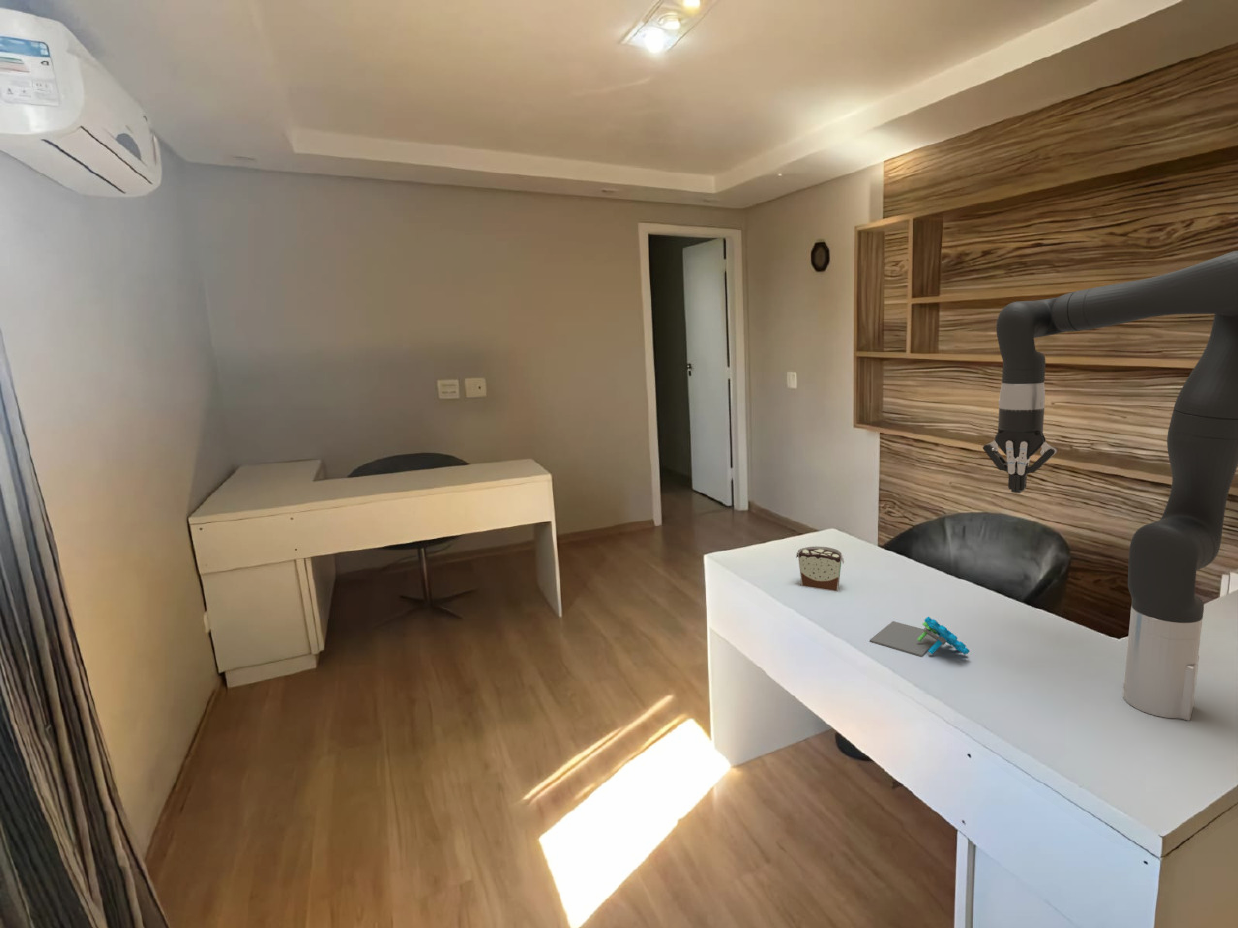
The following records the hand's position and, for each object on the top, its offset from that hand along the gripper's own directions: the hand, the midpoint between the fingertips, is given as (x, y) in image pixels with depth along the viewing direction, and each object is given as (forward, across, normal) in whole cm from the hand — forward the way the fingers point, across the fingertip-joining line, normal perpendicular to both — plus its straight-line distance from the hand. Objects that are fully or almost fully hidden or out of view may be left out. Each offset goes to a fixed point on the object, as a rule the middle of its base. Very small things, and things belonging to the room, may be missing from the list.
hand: (1016, 492), depth 129 cm
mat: (+33, +17, +10) cm, 38 cm away
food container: (+33, +46, -7) cm, 57 cm away
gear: (+34, +8, +10) cm, 36 cm away
